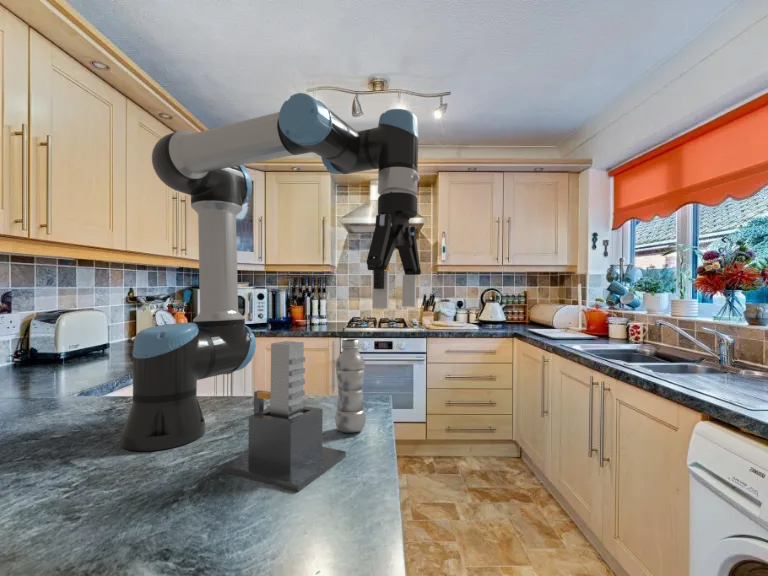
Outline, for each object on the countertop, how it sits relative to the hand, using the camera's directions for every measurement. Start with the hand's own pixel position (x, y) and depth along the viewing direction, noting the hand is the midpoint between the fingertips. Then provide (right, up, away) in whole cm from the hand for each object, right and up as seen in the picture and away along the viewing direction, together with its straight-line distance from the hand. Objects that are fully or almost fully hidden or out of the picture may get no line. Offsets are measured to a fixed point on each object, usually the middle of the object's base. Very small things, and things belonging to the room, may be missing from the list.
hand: (396, 307), depth 72 cm
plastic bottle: (-10, -28, +12) cm, 32 cm away
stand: (-20, -27, -5) cm, 34 cm away
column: (-19, -26, -5) cm, 33 cm away
